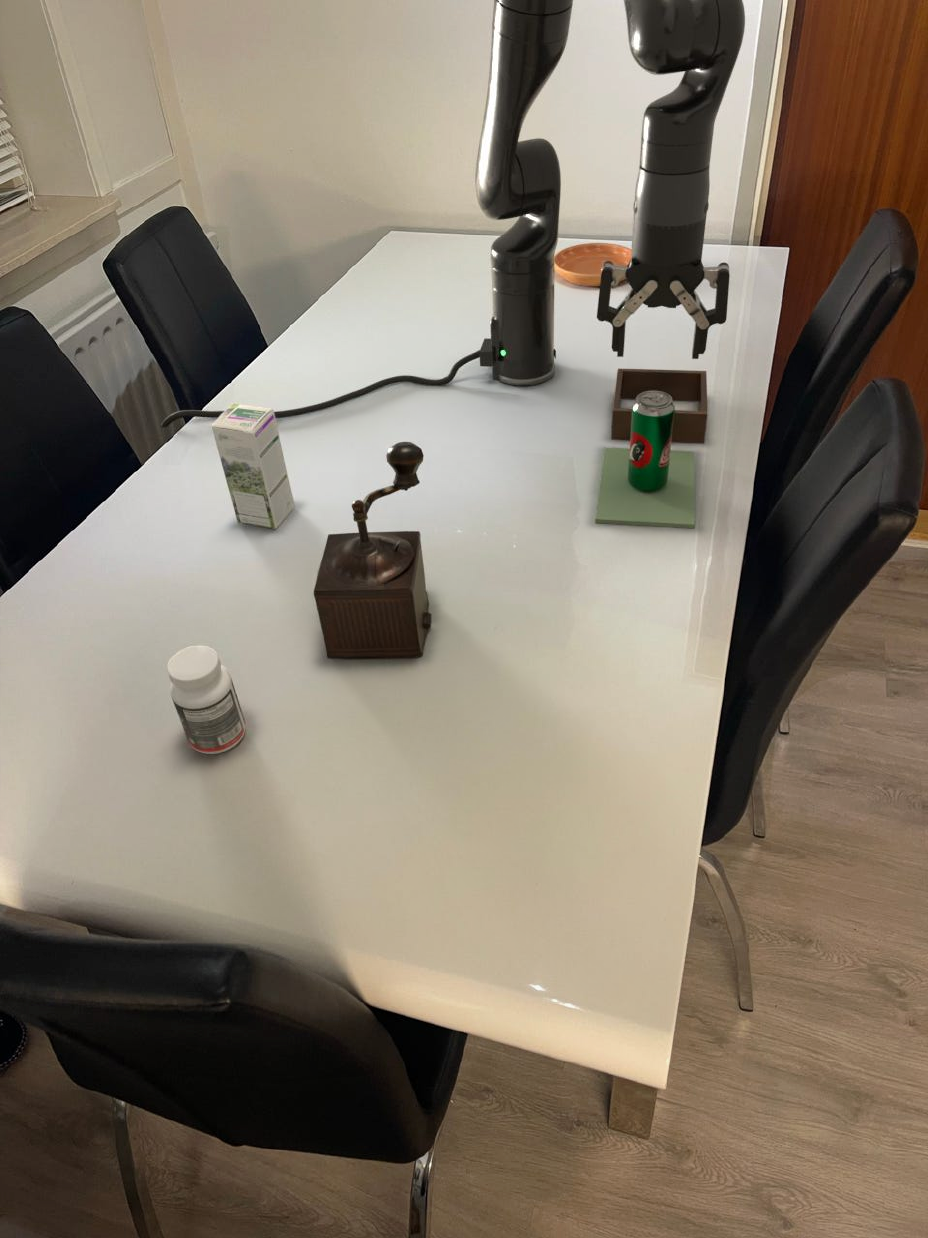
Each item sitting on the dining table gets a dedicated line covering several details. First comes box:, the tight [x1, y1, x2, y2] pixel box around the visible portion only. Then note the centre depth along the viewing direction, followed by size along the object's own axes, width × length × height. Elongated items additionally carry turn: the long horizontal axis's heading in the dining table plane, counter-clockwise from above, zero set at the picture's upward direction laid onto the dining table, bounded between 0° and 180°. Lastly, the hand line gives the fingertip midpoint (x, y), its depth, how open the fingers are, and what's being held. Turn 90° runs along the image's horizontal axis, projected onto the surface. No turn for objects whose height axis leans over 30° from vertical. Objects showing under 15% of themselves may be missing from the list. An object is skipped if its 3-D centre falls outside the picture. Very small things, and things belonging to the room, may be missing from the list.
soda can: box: [628, 391, 676, 492], centre depth 116 cm, size 5×5×12 cm
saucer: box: [554, 242, 632, 287], centre depth 175 cm, size 16×16×3 cm
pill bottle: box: [166, 645, 247, 755], centre depth 89 cm, size 6×6×10 cm
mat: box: [594, 447, 696, 529], centre depth 121 cm, size 12×17×1 cm
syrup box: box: [211, 403, 296, 530], centre depth 116 cm, size 6×6×14 cm
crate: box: [610, 367, 708, 444], centre depth 132 cm, size 13×13×4 cm
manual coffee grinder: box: [313, 441, 433, 660], centre depth 99 cm, size 16×11×18 cm
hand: (657, 354), depth 109 cm, fingers open, 8 cm apart
